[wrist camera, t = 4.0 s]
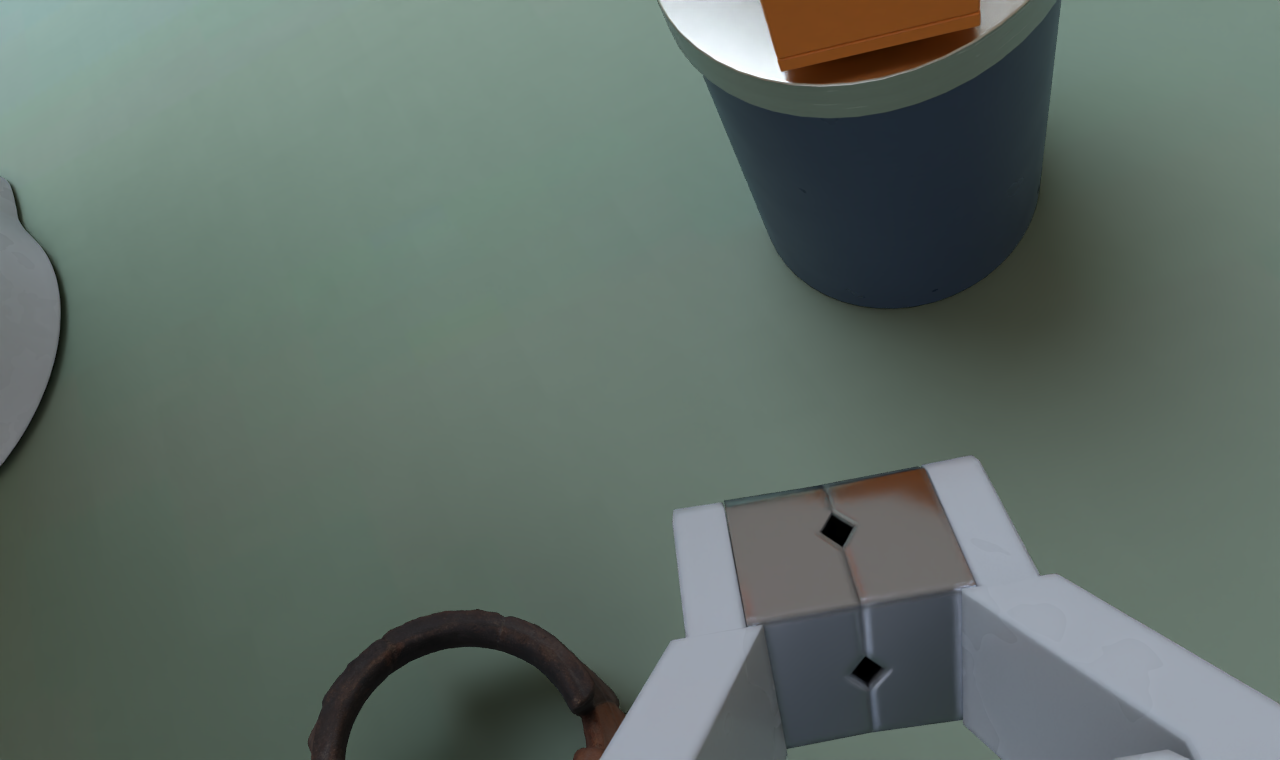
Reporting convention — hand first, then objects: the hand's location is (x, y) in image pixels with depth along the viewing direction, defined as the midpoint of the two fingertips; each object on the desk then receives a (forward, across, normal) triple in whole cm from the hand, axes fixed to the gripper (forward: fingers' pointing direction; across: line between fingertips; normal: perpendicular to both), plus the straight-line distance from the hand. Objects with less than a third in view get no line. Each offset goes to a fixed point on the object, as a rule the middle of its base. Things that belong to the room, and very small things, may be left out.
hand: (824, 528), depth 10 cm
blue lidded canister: (+22, -6, +8) cm, 24 cm away
